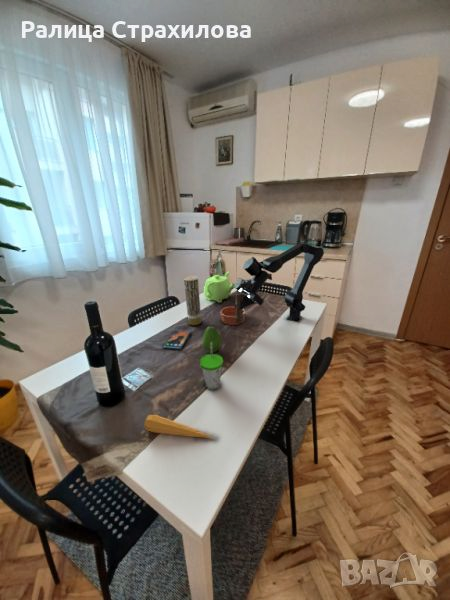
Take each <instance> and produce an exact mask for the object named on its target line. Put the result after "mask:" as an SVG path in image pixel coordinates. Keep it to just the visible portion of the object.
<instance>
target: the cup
mask: <svg viewBox="0 0 450 600" xmlns="http://www.w3.org/2000/svg"><path fill="white" fill-rule="evenodd" d="M223 364H224V359H223V356H221V355H220V354H217V353H214V352H212V342H211V353H208V354H205V355H203V356H202V357H201V358H200V359H199V365H200V368H201V369H202V374H203V377H204V382H205V387H206V388H207V389H208V390H210V391H211V390H212V391H214V390H217V389H219V387H220V384H221V376H222V375H221V374H222V368H223V367H222V366H223Z"/></svg>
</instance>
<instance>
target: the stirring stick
mask: <svg viewBox="0 0 450 600" xmlns="http://www.w3.org/2000/svg"><path fill="white" fill-rule="evenodd" d="M242 302H243V293H238V292H236V293H235V303H236V316H235V322H236V323H241V324H243V323H245V321H244V316H243V309H244V308H243V309H241V310H239V309H238V308H239V306H240V304H241V303H242Z"/></svg>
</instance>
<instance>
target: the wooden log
mask: <svg viewBox="0 0 450 600" xmlns="http://www.w3.org/2000/svg"><path fill="white" fill-rule="evenodd" d="M183 284H184V293H185V303H186V314H187V323H188V325H190V326H199V325H200V324H201V323H202V315H201V314H202V313H201V299H200V288H199V287H200V286H199V276H196V275H187V276H184V278H183Z"/></svg>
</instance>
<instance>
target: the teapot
mask: <svg viewBox="0 0 450 600" xmlns="http://www.w3.org/2000/svg"><path fill="white" fill-rule="evenodd" d="M229 274H230V271H227V272H226V273H225V275H224V276H223V275H220V274H214V276H211V277H209V278H207V279H206V280H205V283H204V287H203V296H204V297H205V298H206V299H207V301H212V300H214V301H216V302H217V303H222V302H223V300H224V299H229V296H230V295H231V294H232V291H233V290H234V289H235V288H234V286H235V284H236V283H231V282H230V280H229Z"/></svg>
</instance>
